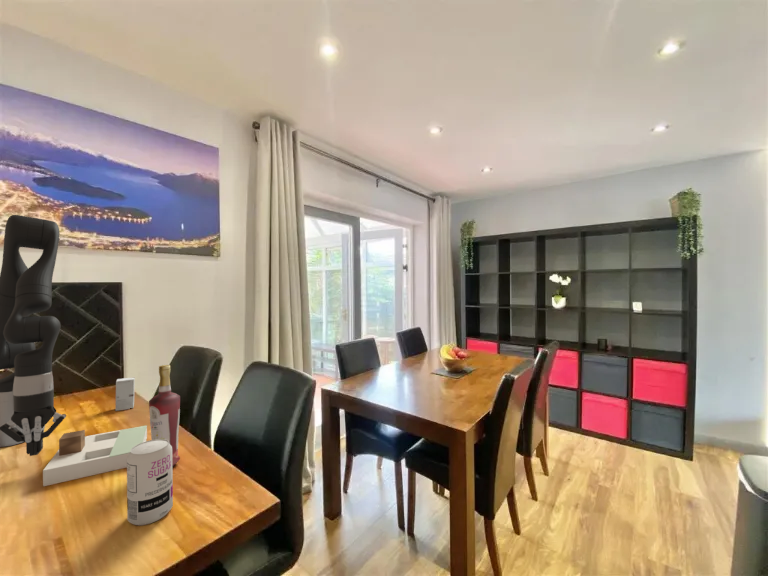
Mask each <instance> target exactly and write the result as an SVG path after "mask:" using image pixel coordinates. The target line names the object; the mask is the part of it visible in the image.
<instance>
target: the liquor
mask: <svg viewBox="0 0 768 576" xmlns="http://www.w3.org/2000/svg"><path fill="white" fill-rule="evenodd" d="M170 374H171V365H170V364H164V365H163V364H162V365H159V366H158V375H159V386H158V394H157V395H154V396H152V398H150V399H149V400H148V407H149V411H148V412H149V423H150V436H151V440H155V439H166V440H168V441H169V443H170V445H171V446H172V468H173V467H174V466H175V465H176V464H177V463H178V462H179V460H180V459H181V457H180V456H179V429H180V427H179V426H180V415H181V414H180V413H181V409H180V408H181V407H180V406H181V395H179V394H177V393H176V392H173V391H172V388H171V379H170V378H171V377H170Z"/></svg>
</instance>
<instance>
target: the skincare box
mask: <svg viewBox="0 0 768 576" xmlns="http://www.w3.org/2000/svg"><path fill="white" fill-rule="evenodd" d="M134 406H135V377H123V378H117V379H116V381H115V409H114V410H115V412H117V411H125V410H131V409H130V408H132V409H134Z"/></svg>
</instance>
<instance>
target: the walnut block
mask: <svg viewBox="0 0 768 576" xmlns="http://www.w3.org/2000/svg"><path fill="white" fill-rule="evenodd" d="M85 430H86V429H84V430H83V429H82V430H75V431H69V432H66V433H62V435H61V437H60V438H59V440H58V450H59V456H62V455H67V454H72V453H77V452H81V451H82V449H83V448H84V446H85V436H86V431H85Z"/></svg>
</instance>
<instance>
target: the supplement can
mask: <svg viewBox="0 0 768 576" xmlns="http://www.w3.org/2000/svg"><path fill="white" fill-rule="evenodd" d="M173 472H174V471H173V467H172V446H171V445H170V443H169V441H168V440H166V439H155V440H152V439H151V440H150V439H149V440H146V442H143V443H140V444H138V445H136V446H134V447H133V448H132V449H131V451H130V453H129V455H128V457H127V467H126V505H127V506H126V508H127V509H126V511H127V512H126V513H127V515H126V517H127V522H129V523H130V524H132V525H134V526H146V525H150V524H153V523H155V522H157V521H159V520H160V519H162V518H164V517H165V516H166V515H167V514H168V513H169V512H170V511H171V510H172V508H173V507H174V506H173V505H174V504H173V503H174V501H173V500H174V498H173V497H174V496H173V495H174V494H173V493H174V491H173V489H174V487H173V484H174V483H173V482H174V481H173V474H174V473H173Z"/></svg>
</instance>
